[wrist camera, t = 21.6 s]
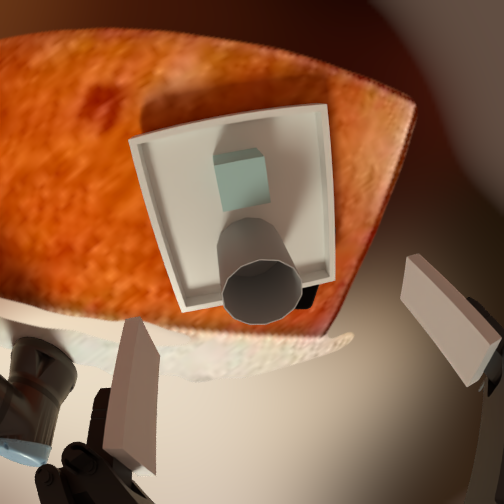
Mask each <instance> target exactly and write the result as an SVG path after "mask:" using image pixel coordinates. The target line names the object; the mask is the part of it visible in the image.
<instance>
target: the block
mask: <svg viewBox="0 0 504 504" xmlns="http://www.w3.org/2000/svg"><path fill="white" fill-rule="evenodd" d="M213 163H214V169H215V174H216V179H217V184H218V189H219V194H220V199H221V204H222V209H223V212H226V211H231V210H236V209H241V208H246V207H251V206H256V205H261V204H267V203H271V201H270V193H269V186H268V179H267V172H266V165H265V158H264V155H263V154H262V153H261V152H260V151H259V150H258V149H257V148H251V149H245V150H240V151H234V152H229V153H224V154H219V155H214V156H213Z"/></svg>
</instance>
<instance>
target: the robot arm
mask: <svg viewBox="0 0 504 504" xmlns="http://www.w3.org/2000/svg"><path fill="white" fill-rule="evenodd" d="M400 299H401V301H402V302H403V303H404V304H405V305H406V307H407V308H408V309H409V310H410V312H411V313H412V314H413V315H414V317H415V318H416V319H417V320H418V322H419V323H420V324H421V325H422V327H423V328H424V329H425V331H426V332H427V333H428V334H429V336H430V337H431V338H432V340H433V341H434V342H435V344H436V345H437V346H438V348H439V349H440V350H441V352H442V353H443V354H444V356H445V357H446V359H447V360H448V361H449V363H450V364H451V365H452V367H453V368H454V370H455V371H456V372H457V374H458V375H459V377H460V378H461V379H462V381H463V382H464V384H465V385H466V387H468V386H470V385H471V384H473V383H475V382H476V381H478V380H479V378H480V377H481V375H482V373H483V372H484V373H485V374H486V375H487V376H486V378H485V379H484V381H483V382H482V384H481V385H480V387H479V390H478V391H481V389H482V388H483V386H484V391H483V392H484V396H483V408H482V416H481V425H480V432H479V438H478V445H477V450H476V456H475V461H474V466H473V470H472V475H471V479H470V483H469V487H468V491H467V494H466V498H465V501H464V504H504V329H503V328H502V326H501V325H500V324H499V323H498V322H497V321H496V320H495V319H494V318H493V317H492V316H490V314H489V313H488V311H486V310H485V308H484V307H483V306H482V305H481V304H480V303H479V302H477V301H476V300H474V299H472V298H470V297H468V298H466V299H465V298H464V297H463V295H461V294H460V293H459V291H457V289H456V288H455V287H454V286H452V285H451V284H450V283H449V282H448V281H447V280H446V279H445V278H444V277H443V276H442V275H441V274H440V273H439V272H438V271H437V270H436V269H435V268H434V267H433V266H431V265H430V264H429V263H428V262H427V261H426V260H425V259H424V258H423V257H422V256H421V255H420V254H415V255H411V256H407V260H406V267H405V274H404V280H403V286H402V292H401V297H400ZM159 362H160V355H159V353H158V351H157V349H156V347H155V345H154V343H153V341H152V340H151V338H150V336H149V334H148V332H147V330H146V328H145V325H144V323H143V321H142V319H141V317H134V318H129V319H125V323H124V327H123V332H122V336H121V340H120V345H119V350H118V355H117V359H116V364H115V370H114V375H113V380H112V386H111V388H101V389H100V390H99V392H98V393H97V395H96V397H95V398H94V403H93V411H92V414H91V420H90V426H89V431H88V438H87V444H85V443H82V442H73V443H71V444H69V445H68V446H67V447H66V448H65V449H64V451H63V453H62V459H61V461H62V464H63V467H62V468H56V467H55V466H53V465H51V464H46V463H47V461H48V457H49V454H50V451H51V449H52V447H51V445H52V440H53V436H54V430H55V426H56V422H57V418H58V413H59V409H60V406H61V404H62V403H63V402H64V400H65V399H66V397H67V396H68V394H69V393H70V392H71V391H72V390H73V388H74V386H75V383H76V380H77V371H76V368H75V366H74V364H73V363H72V361H71V360H70V359H69V358H68V357H67V356H66V355H65V354H64V353H63V352H62V351H60V350H59V349H58V348H56V347H55V346H53V345H51V344H49V343H47V342H45V341H43V340H40V339H37V338H32V337H24V338H21V339H19V340H17V341H16V343H15V345H14V347H13V349H12V352H11V364H10V375H9V379H8V381H7V380H6V379H5V378H4V377H3V376H2V375H0V455H1V456H3V457H5V458H7V459H9V460H12V461H14V462H17V463H20V464H23V465H27V466H33V467H39V468H38V469H37V471H36V474H35V484H36V488H37V491H38V496H39V499H40V503H41V504H154V502H153V501H152V500H151V499H150V498H149V497H148V496H147V495H146V494H145V493H144V492H143V491H142V489H141V488H140V487H139V486H138V485H137V484H136V483H135V481H133V480H132V472H133V473H135V474H136V475H138V476H156V418H157V417H156V416H157V394H158V377H159Z"/></svg>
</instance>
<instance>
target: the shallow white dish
mask: <svg viewBox="0 0 504 504" xmlns="http://www.w3.org/2000/svg"><path fill="white" fill-rule="evenodd" d="M128 141H129V145H130V149H131V153H132V157H133V161H134V165H135V168H136V172H137V176H138V179H139V183H140V187H141V190H142V194H143V197H144V201H145V204H146V208H147V211H148V214H149V217H150V221H151V224H152V227H153V230H154V234H155V237H156V240H157V243H158V246H159V249H160V252H161V255H162V258H163V261H164V264H165V267H166V270H167V273H168V276H169V278H170V281H171V284H172V287H173V290H174V292H175V295H176V298H177V301H178V303H179V306H180V309H181V311H182V313H183V312H189V311H194V310H200V309H205V308H210V307H215V306H220V305H223V300H222V295H221V286H220V277H219V267H218V257H217V247H216V246H217V243H218V240H219V237H220V234H221V233H222V232H223V231H224V230H225V229H226V228H227V227H228V226H229V225H230V224H231V223H232V222H235V221H238V220H240V219H243V218H261V219H263V220H265V221H267V222H268V223H270V224H272V225H273V226H274V227H275V229H276V230H277V232H278V233H279V235H280V237H281V239H282V241H283V243H284V245H285V247H286V249H287V251H288V253H289V255H290V257H291V259H292V261H293V263H294V265H295V267H296V269H297V271H298V273H299V275H300V277H301V279H302V288H305V287H309V286H314V285H318V284H322V283H326V282H331V281H335V216H334V191H333V172H332V156H331V143H330V131H329V120H328V110H327V104H323V103H311V104H300V105H290V106H281V107H273V108H266V109H259V110H252V111H245V112H239V113H233V114H227V115H222V116H216V117H211V118H206V119H201V120H197V121H192V122H187V123H183V124H179V125H174V126H170V127H166V128H162V129H158V130H154V131H150V132H147V133H143V134H139V135H136V136H133V137H132V138H130V139H129V140H128ZM251 148H257V149H258V150H259V151H260V152H261V153H262V154H263V155H264V158H265V165H266V172H267V179H268V186H269V193H270V201H271V203H267V204H261V205H256V206H251V207H246V208H241V209H236V210H231V211H226V212H223V209H222V204H221V199H220V194H219V189H218V184H217V179H216V174H215V169H214V163H213V156H214V155H219V154H224V153H229V152H234V151H240V150H245V149H251Z"/></svg>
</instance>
